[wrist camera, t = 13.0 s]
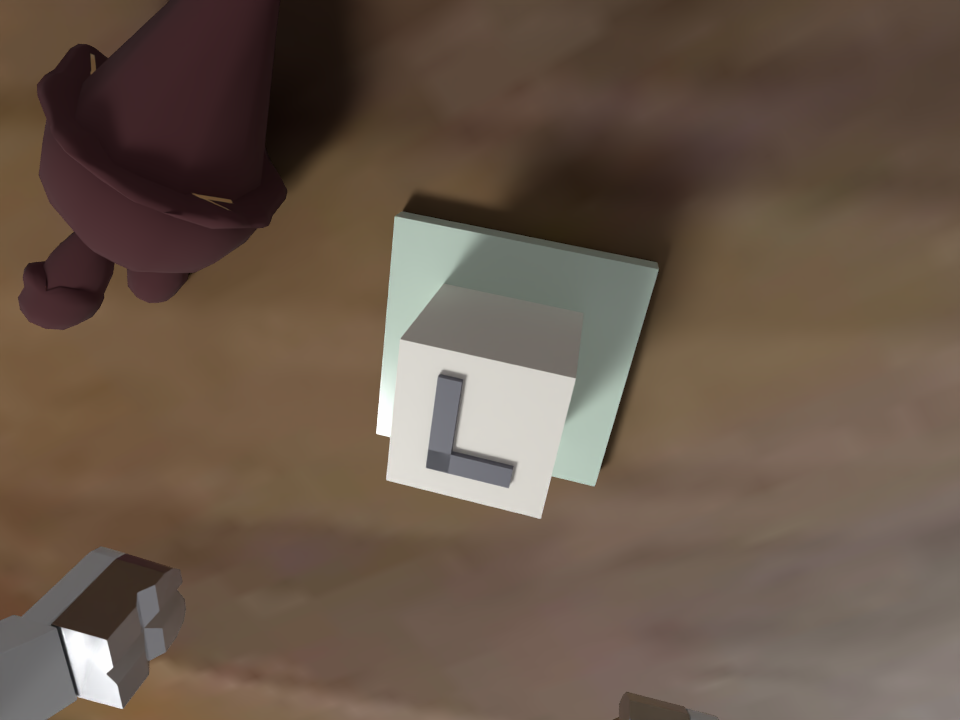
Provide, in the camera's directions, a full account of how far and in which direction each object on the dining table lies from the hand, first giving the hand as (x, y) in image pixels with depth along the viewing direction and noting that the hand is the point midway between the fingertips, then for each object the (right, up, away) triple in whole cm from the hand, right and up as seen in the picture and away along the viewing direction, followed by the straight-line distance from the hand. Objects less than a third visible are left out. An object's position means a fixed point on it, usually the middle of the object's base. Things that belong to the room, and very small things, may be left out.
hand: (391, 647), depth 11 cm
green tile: (+3, +5, +12) cm, 14 cm away
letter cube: (+2, +5, +12) cm, 13 cm away
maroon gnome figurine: (-7, +13, +11) cm, 19 cm away
